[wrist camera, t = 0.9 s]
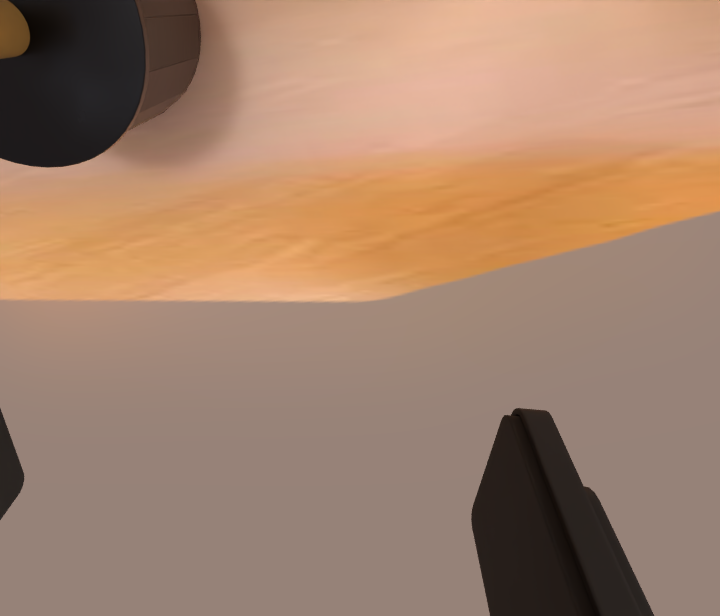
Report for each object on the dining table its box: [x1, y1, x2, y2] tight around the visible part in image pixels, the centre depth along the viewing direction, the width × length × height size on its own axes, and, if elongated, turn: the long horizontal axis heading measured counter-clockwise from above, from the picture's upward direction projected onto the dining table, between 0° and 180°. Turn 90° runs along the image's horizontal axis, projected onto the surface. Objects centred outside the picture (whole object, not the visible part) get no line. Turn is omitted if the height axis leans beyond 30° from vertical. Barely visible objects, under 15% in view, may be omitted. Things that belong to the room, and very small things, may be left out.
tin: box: [128, 0, 201, 131], centre depth 29 cm, size 13×13×10 cm
